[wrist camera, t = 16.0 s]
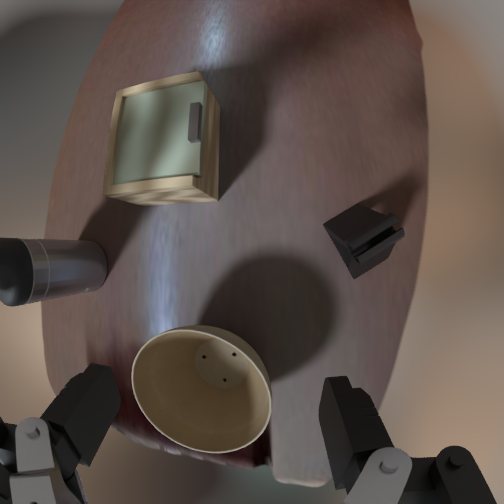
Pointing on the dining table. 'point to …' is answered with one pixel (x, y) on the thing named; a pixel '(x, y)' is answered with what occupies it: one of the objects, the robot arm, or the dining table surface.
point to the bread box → (164, 143)
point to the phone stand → (363, 237)
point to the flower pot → (203, 388)
